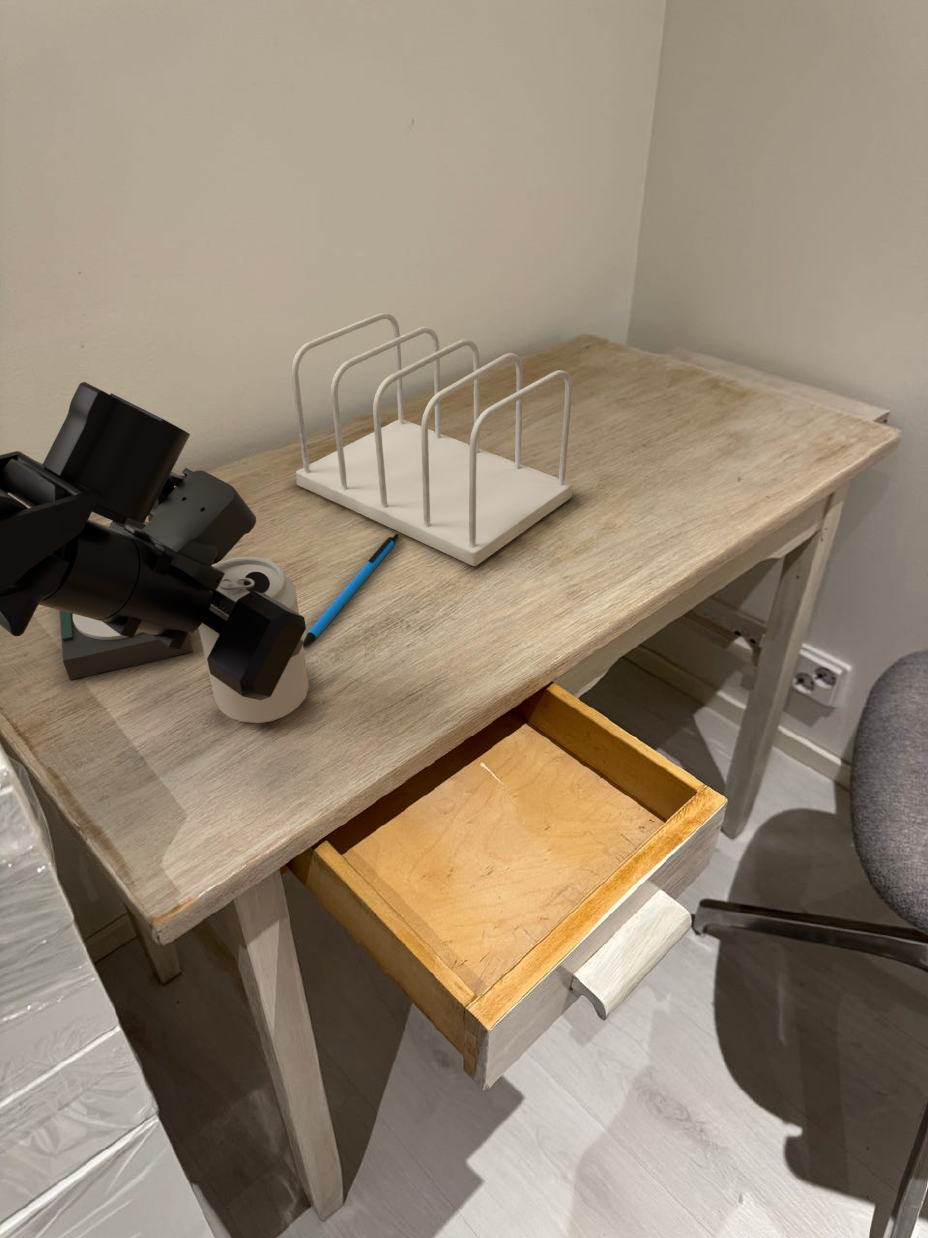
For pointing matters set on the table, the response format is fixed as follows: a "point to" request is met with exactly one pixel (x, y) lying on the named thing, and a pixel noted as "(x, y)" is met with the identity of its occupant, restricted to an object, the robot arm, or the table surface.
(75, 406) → the robot arm
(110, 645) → the scale
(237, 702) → the can
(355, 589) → the pen
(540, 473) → the file sorter
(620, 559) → the table surface
